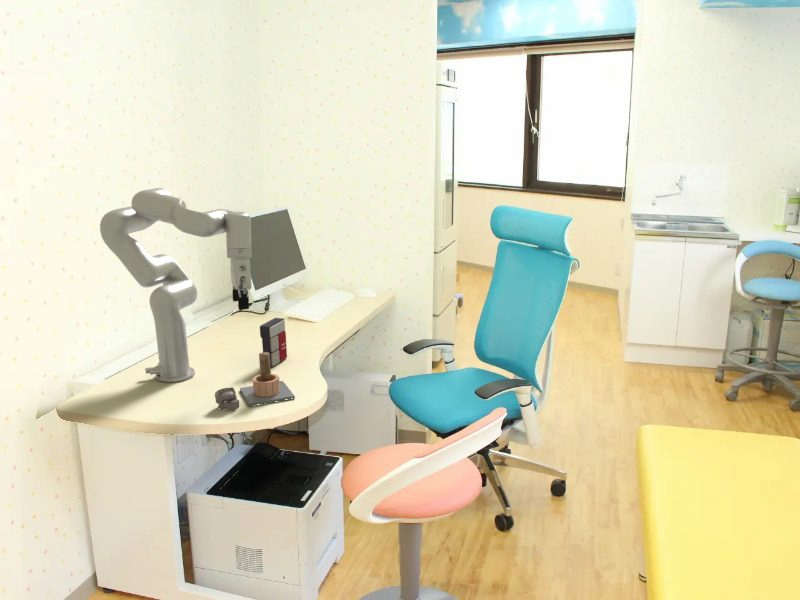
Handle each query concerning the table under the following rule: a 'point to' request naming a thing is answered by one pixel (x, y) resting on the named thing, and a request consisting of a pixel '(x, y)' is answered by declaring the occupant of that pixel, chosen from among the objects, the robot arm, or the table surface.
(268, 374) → the wooden capsule dowel
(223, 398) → the dental mold
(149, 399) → the table surface
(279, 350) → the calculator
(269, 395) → the board
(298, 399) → the table surface
